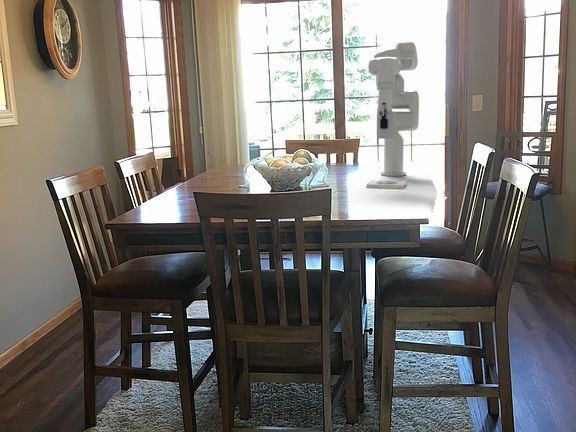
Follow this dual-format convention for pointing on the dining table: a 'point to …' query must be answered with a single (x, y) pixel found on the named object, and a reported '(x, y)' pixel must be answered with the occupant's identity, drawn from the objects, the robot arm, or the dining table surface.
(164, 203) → the dining table surface
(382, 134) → the can
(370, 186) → the tile
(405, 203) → the dining table surface
